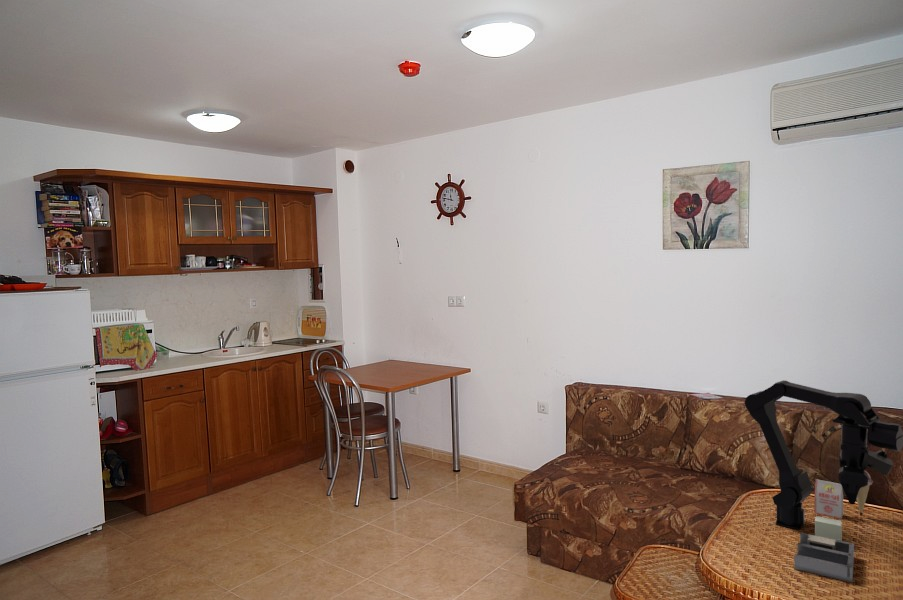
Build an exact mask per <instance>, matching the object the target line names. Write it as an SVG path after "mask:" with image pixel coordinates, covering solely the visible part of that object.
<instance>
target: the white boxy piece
mask: <svg viewBox="0 0 903 600" xmlns="http://www.w3.org/2000/svg"><path fill="white" fill-rule="evenodd" d="M813 497H814V501H813V502H814V514H818V515H822V516H824V517H828V518H834V519H837V520H841V519H842V518H843V516H844V490H843V488H842V485H841V483H837V482H832V481H827V480H821V479H818V478H817V479H816V478H815V484H814V496H813Z"/></svg>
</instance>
